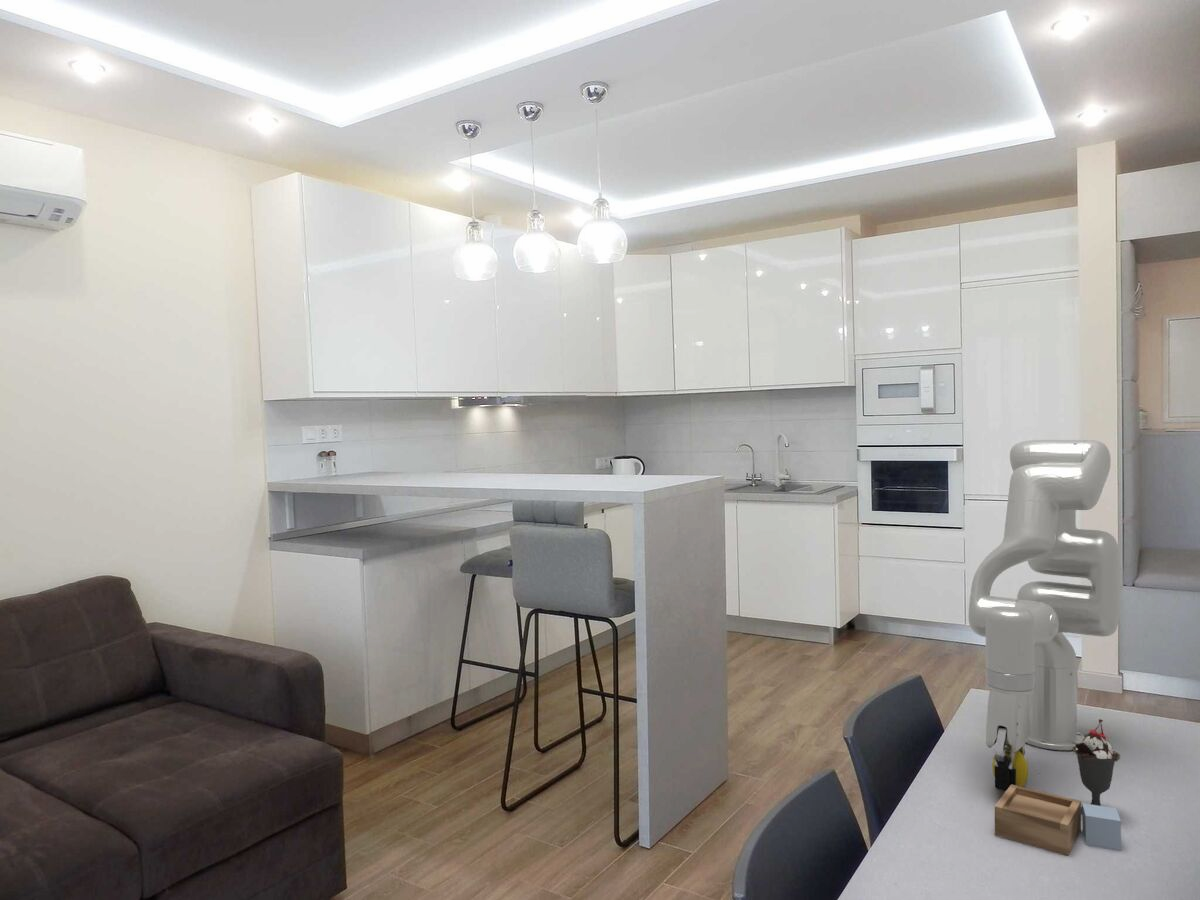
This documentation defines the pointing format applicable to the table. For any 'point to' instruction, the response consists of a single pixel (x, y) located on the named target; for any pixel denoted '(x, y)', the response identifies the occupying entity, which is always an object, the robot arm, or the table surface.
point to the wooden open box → (1038, 819)
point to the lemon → (1017, 767)
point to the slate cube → (1101, 826)
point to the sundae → (1096, 763)
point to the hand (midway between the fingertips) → (1010, 783)
